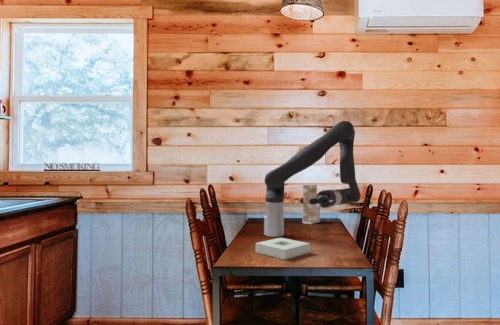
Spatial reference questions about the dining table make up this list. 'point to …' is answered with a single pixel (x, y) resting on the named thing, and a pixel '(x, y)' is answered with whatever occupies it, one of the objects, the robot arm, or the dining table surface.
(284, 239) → the socket block
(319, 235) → the dining table surface
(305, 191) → the peg
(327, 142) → the robot arm
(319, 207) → the light bulb box
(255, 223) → the dining table surface
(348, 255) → the dining table surface
